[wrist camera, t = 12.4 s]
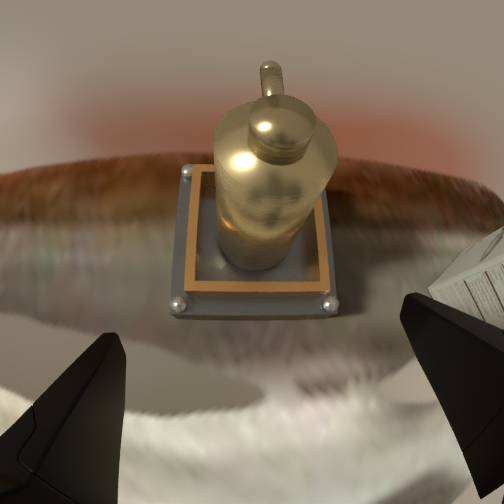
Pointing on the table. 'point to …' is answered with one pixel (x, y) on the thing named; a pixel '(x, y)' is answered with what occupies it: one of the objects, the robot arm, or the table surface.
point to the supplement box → (476, 281)
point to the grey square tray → (242, 280)
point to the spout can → (269, 173)
